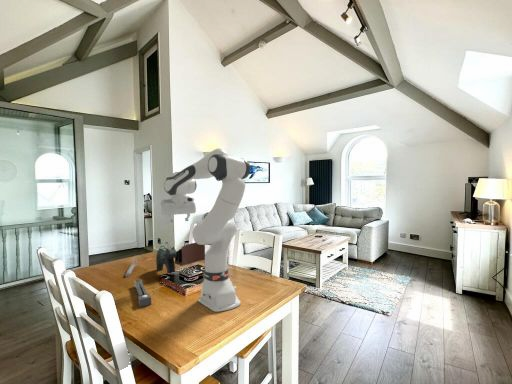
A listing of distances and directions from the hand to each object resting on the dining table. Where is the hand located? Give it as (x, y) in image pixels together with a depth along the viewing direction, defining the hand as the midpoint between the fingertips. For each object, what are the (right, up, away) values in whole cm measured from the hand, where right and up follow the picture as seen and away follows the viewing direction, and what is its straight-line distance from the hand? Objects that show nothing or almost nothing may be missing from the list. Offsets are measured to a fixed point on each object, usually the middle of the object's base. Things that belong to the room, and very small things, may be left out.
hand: (179, 221), depth 159 cm
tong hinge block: (-6, -36, -34) cm, 50 cm away
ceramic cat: (-12, -34, +9) cm, 37 cm away
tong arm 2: (-13, -35, -21) cm, 43 cm away
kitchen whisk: (-36, -34, +17) cm, 52 cm away
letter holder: (-2, -33, +34) cm, 48 cm away
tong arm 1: (-15, -35, -22) cm, 44 cm away
